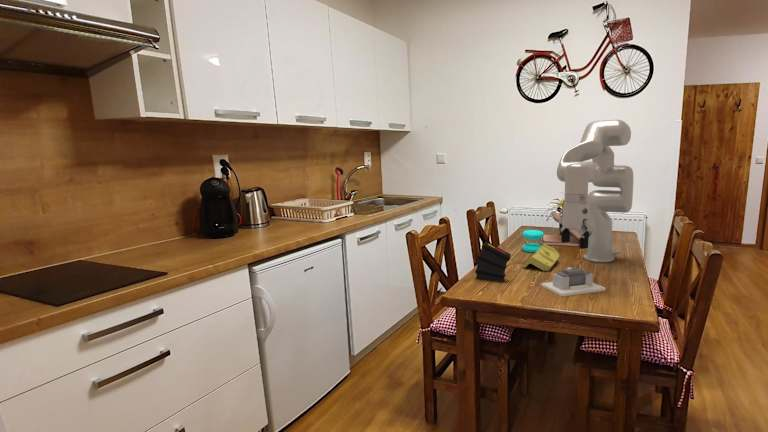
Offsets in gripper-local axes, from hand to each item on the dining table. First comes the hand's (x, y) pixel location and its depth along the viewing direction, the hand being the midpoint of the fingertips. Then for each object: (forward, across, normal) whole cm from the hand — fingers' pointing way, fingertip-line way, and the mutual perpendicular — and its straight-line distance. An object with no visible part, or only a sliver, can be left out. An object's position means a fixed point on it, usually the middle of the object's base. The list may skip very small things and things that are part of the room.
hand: (574, 245), depth 150 cm
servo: (+15, 0, 0) cm, 15 cm away
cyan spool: (+17, +53, -18) cm, 58 cm away
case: (+18, +65, -42) cm, 79 cm away
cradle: (+16, 0, 0) cm, 16 cm away
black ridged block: (+16, +19, +22) cm, 33 cm away
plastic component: (+17, +29, -7) cm, 35 cm away
